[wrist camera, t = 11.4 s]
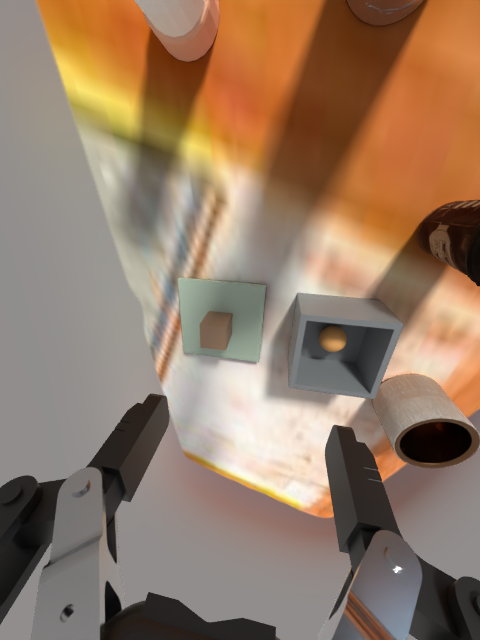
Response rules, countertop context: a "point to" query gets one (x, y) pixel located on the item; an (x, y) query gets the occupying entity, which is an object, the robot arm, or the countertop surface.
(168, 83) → the countertop surface
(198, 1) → the pepper shaker
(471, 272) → the coffee cup
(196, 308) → the lid
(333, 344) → the ball
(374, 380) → the bin
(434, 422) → the planter
